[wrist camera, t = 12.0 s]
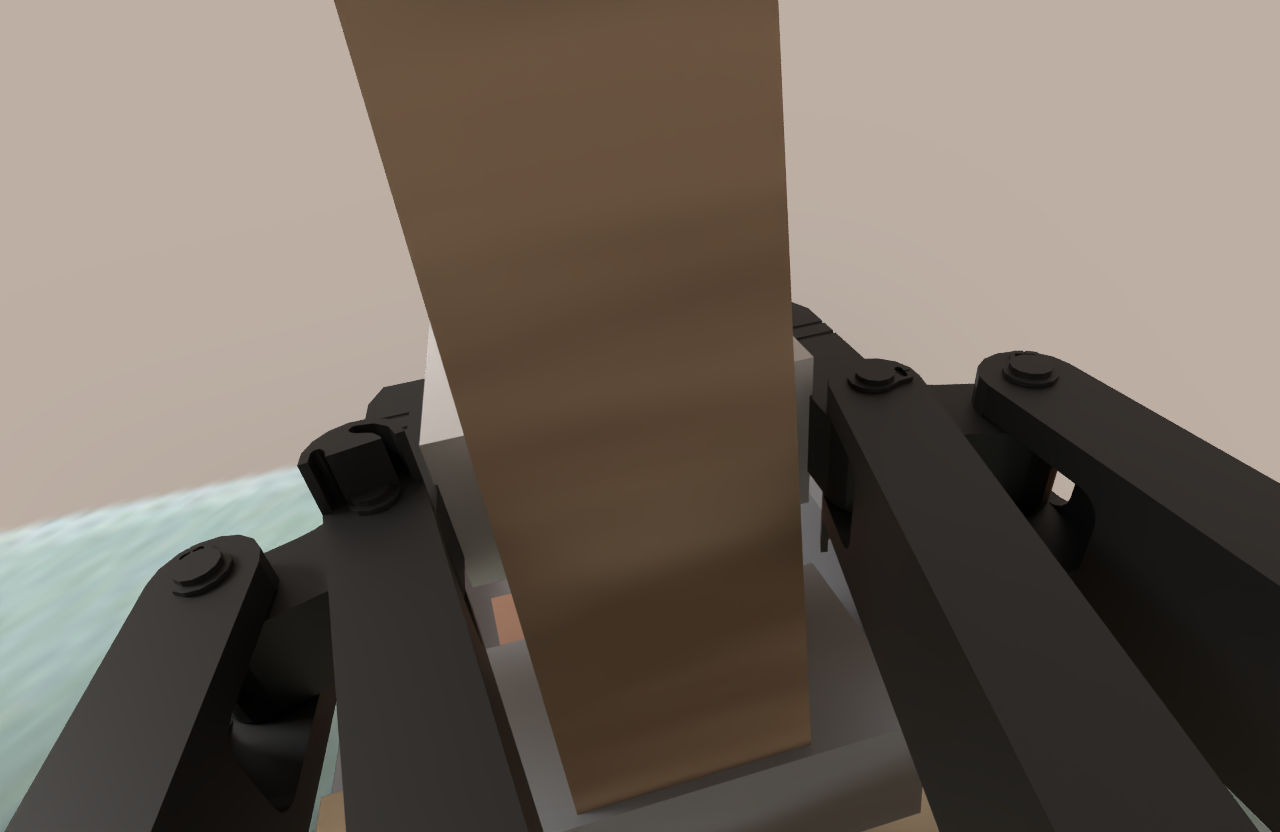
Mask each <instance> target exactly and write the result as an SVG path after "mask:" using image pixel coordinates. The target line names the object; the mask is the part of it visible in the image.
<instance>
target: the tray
mask: <svg viewBox="0 0 1280 832" xmlns="http://www.w3.org/2000/svg"><path fill="white" fill-rule="evenodd" d="M800 506H801V528H802V551H803V565H806V564H809V563H813V564H814V566H815V567H816V568H817V570H818V571H819V572H820V574H821V575H822V577H823V578H824V579H825V581H826V582H827V583H828V585H829V586H830V588H831V589H832V590H833V592H834V593H835V595H836V596H837V597H838V599H839V600H840V601H841V603H842V604H843V606H844V607H845V608H846V610H847V611H848V612H849V614H850V615H851V617H852V618H853V619H854V621H855V622H856V623H857V625H858V626H859V628H860V629H861V630H862V632H863V633H864V634H865V631H864V628H863V626H862V623H861V620H860V617H859V615H858V612H857V609H856V607H855V604H854V601H853V599H852V596H851V593H850V591H849V588H848V585H847V583H846V580H845V577H844V575H843V572H842V569H841V566H840V564H839V561H838V558H837V556H836V553H835V550H834V548H833V545H832V542H831V540H830V539H829V540H828V552H821V550H820V531H821V510H822V490H821V489H820V488H819V486H818V485H817V483H816V482H815V481H814V479H813V478H812V477H811V475H810V480H809V502H808V503H804V504H800ZM465 589H466V592H467V594H468V597H469V599H470V602H471V605H472V607H473V610H474V613H475V616H476V620H477V623H478V626H479V629H480V632H481V635H482V639H483V642H484V645H485V648H486V649H489V648H492V647H496V646H500V642H499V636H498V631H497V626H496V621H495V616H494V611H493V606H492V601H491V598H495V597H499V596H503V595H507V594H510V593H511V591H510V588H509V584H508V581H507V579H504V580H500V581H496V582H492V583H488V584H484V585H480V586H476V587H472V584H471V582H470V579H469V576H468V574H467V571H466V568H465ZM865 636H866V634H865ZM866 637H867V636H866ZM341 791H343V784H342V771H341V757H340V744H339V749H338V755H337V761H336V768H335V774H334V781H333V787H332V794H334V793H338V792H341Z"/></svg>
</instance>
